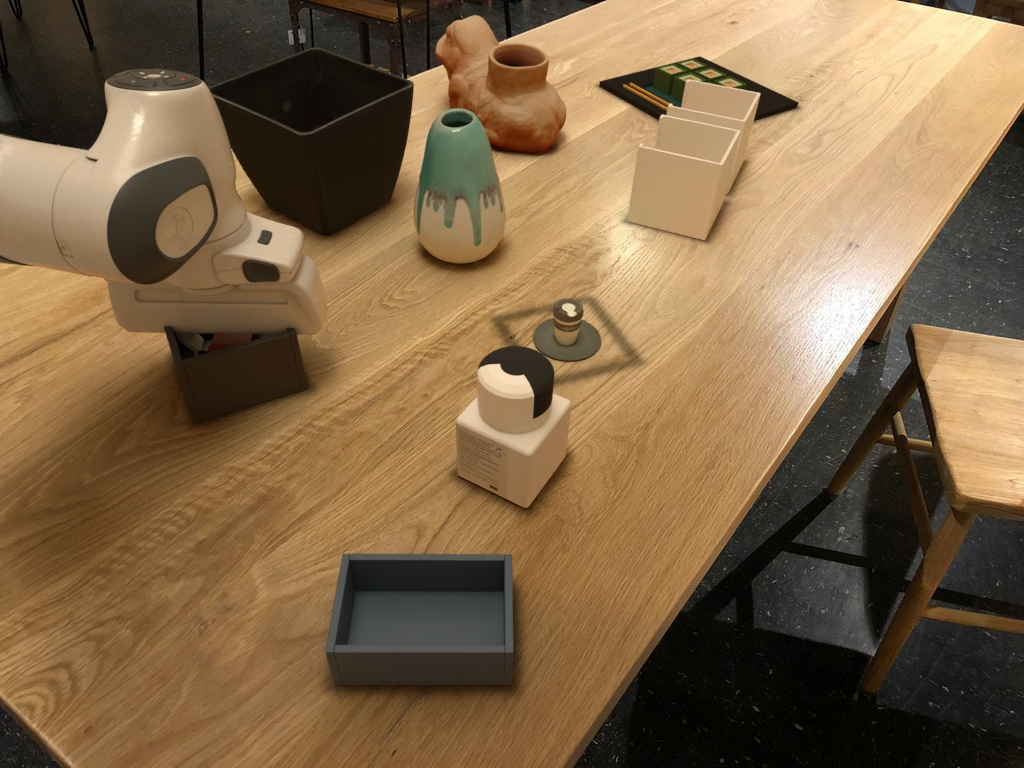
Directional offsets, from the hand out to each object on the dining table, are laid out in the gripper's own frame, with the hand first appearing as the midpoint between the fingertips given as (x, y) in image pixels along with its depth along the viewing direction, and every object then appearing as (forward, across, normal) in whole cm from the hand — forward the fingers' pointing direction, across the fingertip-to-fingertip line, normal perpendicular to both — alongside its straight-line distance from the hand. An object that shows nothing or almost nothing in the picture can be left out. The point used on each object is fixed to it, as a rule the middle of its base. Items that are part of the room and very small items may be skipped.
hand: (237, 358), depth 80 cm
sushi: (+2, +63, +75) cm, 98 cm away
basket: (+2, 0, 0) cm, 2 cm away
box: (+2, +22, -30) cm, 38 cm away
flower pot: (+2, +4, +35) cm, 35 cm away
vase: (+2, +23, +24) cm, 33 cm away
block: (+1, 0, 0) cm, 1 cm away
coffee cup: (+2, +35, +6) cm, 36 cm away
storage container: (+2, +56, +41) cm, 69 cm away
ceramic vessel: (+2, +28, +61) cm, 67 cm away
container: (+2, +29, -13) cm, 32 cm away
